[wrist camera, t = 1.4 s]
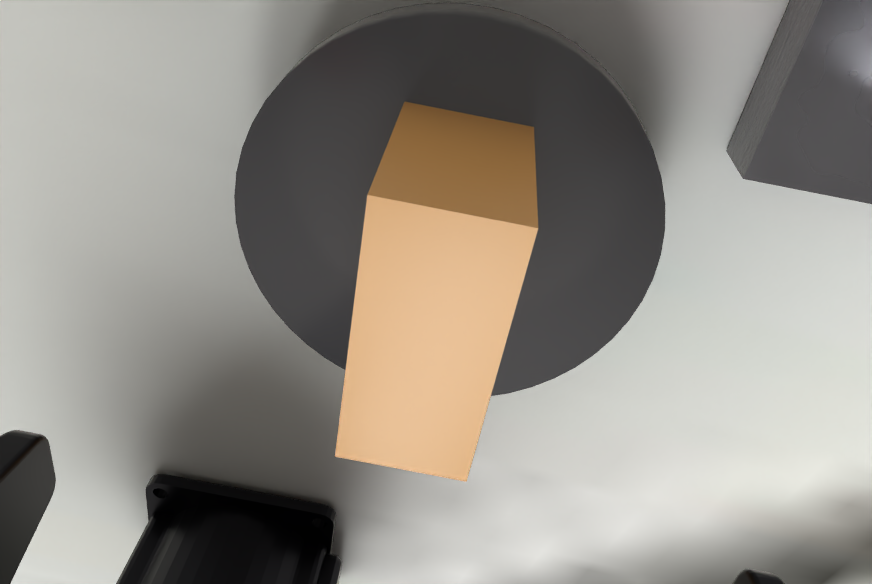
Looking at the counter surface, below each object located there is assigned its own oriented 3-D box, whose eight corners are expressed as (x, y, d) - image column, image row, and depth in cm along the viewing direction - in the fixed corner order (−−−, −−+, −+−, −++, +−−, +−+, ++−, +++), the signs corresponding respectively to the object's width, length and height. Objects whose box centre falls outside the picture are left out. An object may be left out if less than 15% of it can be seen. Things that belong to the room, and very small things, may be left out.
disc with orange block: (268, 292, 20) (166, 486, 14) (282, -57, 15) (134, 26, 9) (583, 352, 20) (608, 569, 14) (702, 27, 15) (814, 160, 9)
